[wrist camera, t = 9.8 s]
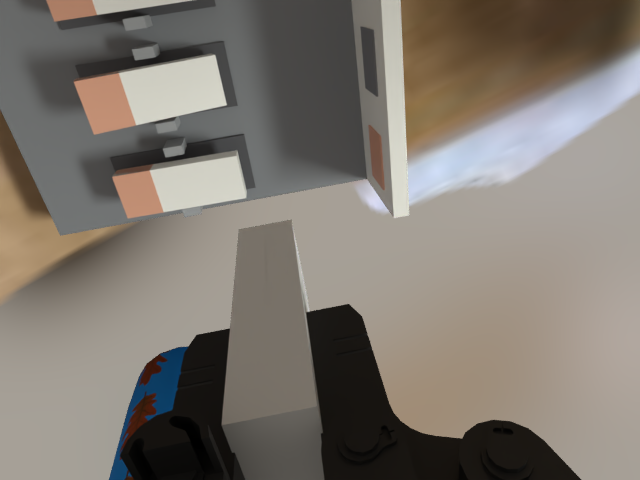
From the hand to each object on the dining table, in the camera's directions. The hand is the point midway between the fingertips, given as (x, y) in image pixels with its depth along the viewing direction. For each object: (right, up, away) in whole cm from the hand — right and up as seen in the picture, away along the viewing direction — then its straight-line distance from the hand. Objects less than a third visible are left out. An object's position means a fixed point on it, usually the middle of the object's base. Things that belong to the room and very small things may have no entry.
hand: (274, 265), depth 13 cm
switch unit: (-7, +13, +19) cm, 24 cm away
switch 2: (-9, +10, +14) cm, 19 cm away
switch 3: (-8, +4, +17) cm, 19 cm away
